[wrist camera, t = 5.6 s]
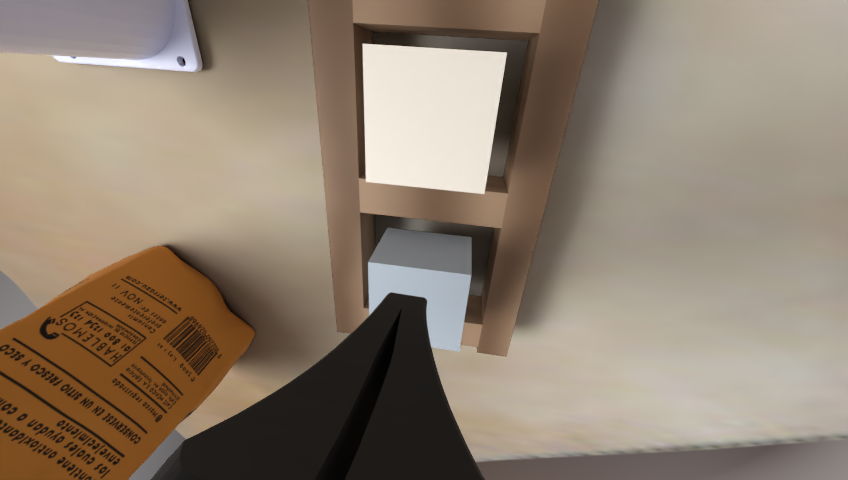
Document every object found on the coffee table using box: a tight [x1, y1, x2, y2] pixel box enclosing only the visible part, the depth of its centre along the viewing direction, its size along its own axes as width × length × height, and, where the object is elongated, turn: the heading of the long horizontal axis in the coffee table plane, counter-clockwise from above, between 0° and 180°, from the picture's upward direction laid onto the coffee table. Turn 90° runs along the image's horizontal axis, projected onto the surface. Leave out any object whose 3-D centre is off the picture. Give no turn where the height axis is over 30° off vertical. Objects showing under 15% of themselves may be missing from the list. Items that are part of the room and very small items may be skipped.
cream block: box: [362, 44, 507, 194], centre depth 14 cm, size 5×5×4 cm
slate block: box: [368, 228, 472, 352], centre depth 18 cm, size 5×5×4 cm
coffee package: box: [0, 246, 255, 480], centre depth 18 cm, size 10×12×22 cm
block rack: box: [308, 0, 599, 357], centre depth 16 cm, size 12×30×3 cm, turn 177°
